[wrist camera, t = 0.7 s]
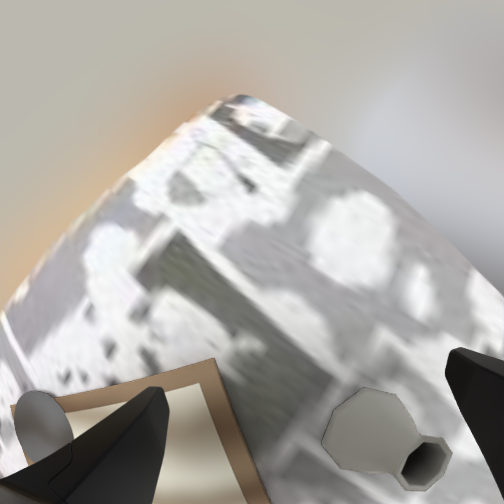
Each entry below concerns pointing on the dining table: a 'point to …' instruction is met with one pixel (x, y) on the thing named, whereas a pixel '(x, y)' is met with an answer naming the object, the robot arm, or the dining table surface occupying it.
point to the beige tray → (178, 434)
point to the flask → (384, 441)
